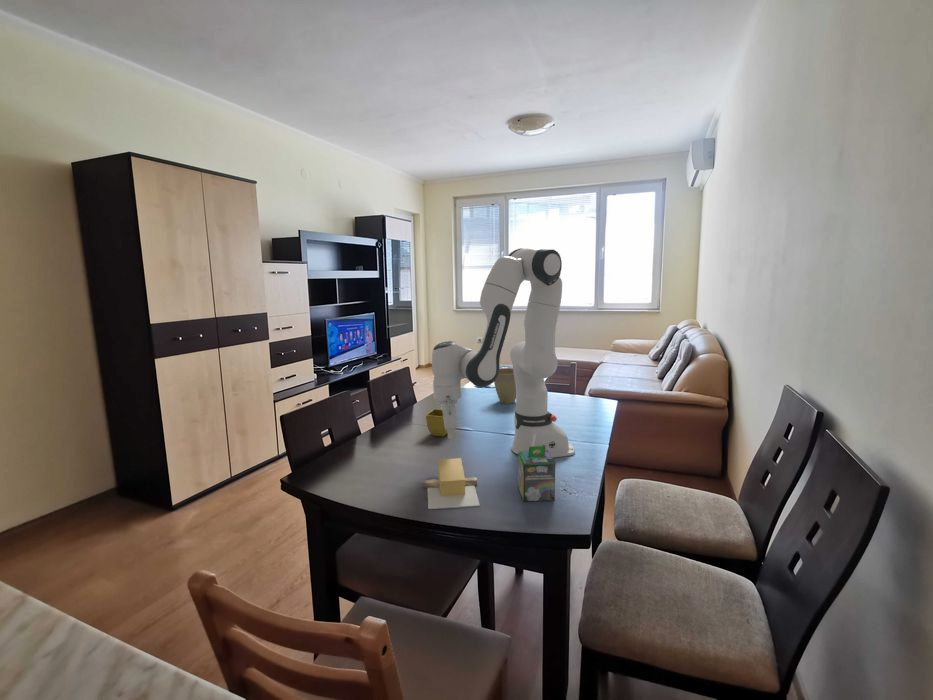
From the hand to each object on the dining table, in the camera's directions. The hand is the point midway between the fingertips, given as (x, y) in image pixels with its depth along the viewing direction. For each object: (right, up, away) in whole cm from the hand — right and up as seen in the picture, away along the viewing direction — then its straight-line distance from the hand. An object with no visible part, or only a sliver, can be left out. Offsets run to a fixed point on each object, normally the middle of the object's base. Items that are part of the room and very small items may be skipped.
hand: (449, 433), depth 145 cm
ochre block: (0, -8, -8) cm, 12 cm away
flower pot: (-5, -7, +34) cm, 35 cm away
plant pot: (+26, +1, +81) cm, 85 cm away
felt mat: (+2, -15, -18) cm, 23 cm away
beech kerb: (+1, -14, -11) cm, 17 cm away
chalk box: (+25, -15, -17) cm, 34 cm away
